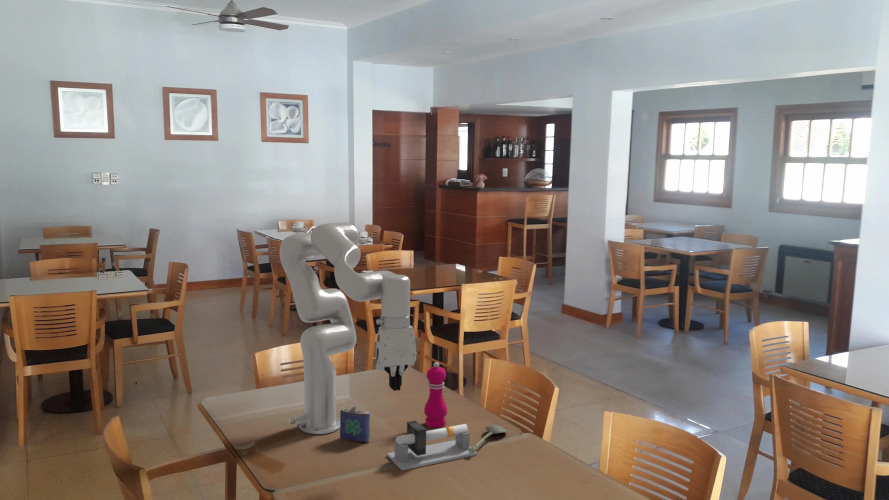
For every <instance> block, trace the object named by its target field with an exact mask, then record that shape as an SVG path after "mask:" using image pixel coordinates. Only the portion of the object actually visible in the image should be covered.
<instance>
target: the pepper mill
mask: <svg viewBox="0 0 889 500" xmlns="http://www.w3.org/2000/svg"><path fill="white" fill-rule="evenodd" d="M446 378H447V371H446V370H445V369H444V368H443V367H441V366H440V362H438V361H436V362H433V366H431V367H430V368H429V369H428V370H427V371H426V380H428V383H427V384H428V386H427V387H428V388H429V394H428V395H429V396H428V397H427V401H426V402H425V404H424V411H423V412H424V415H425V416H426V418H425V425H426V426H427V427H428V428H433V429H440V428H444V427H445V426H446V416H447V414H448V407H447V404H446V401H445V398H444V395H443V390H444V387H445V382H444V381H445V380H446Z"/></svg>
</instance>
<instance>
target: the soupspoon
mask: <svg viewBox="0 0 889 500" xmlns="http://www.w3.org/2000/svg"><path fill="white" fill-rule="evenodd" d="M484 430H486V431H487V432H488V433H487V434H485V435H484V436H483V437H481V439H480V440H479V441H478V442H477V443H476V444H473V446H471V448H469V449H468V451H469V452H470V453H474V450H475V451H476V449H477V447H478V446H479V445H480V444H481V443H483V442H484V441H485V440H486V439H487V438H488V437H490V436H492V435H494V434H500V433H501V434H503V433H507V432H508V430H507V429H506V428H505V427H503V426H500V425H497V424H490V425H487V426H485V429H484Z"/></svg>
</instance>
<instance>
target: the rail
mask: <svg viewBox="0 0 889 500" xmlns="http://www.w3.org/2000/svg"><path fill="white" fill-rule="evenodd" d="M450 437H455V439H453V440H448V441H442V442H438V443H433V444H428V445H427V444H426V454H424V455H419V456H417V455H416V454H415V453H414V452H413V451H412V450H411V449H409V448H408V444H413V443H415V435H414V434H408V435H407V434H403V435H397V436H396V437H395V440H394V451H392V452H387V454H386V455H387V457H388V458H389V459H390V460H391V462H392V463H394V464H395V466H397V467H398V469H399V470H400V471H406V470H407V471H408V470H412V469H416V468H421V467H426V466H431V465H435V464H440V463H445V462H449V461H454V460H460V459H463V458H464V457H465V458H470V457H473V456H478V451H476V449H475V450H474V453H470V452H469V451H468V449H469V448H472V446H470V432H469V428H468V424H466V423H463V424H458V425H450V426H446V427H445V426H444V427H440V428H434V429H431V430H430V429H429V430H426V442H428V441H433V440H438V439H444V438H450Z"/></svg>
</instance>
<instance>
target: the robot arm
mask: <svg viewBox="0 0 889 500" xmlns="http://www.w3.org/2000/svg"><path fill="white" fill-rule="evenodd" d="M359 233H360V232H359V231H358V229H357V227H355V226H354V225H353V224H351V223H349V222H331V223H322V224H319V225H317V226H315V228H314V229H312V231H311V232H299V233H295V234H291V235H288V236H286V237H285V238H284V239H283V240H282V241H281V244H280V245H279V259H280V264H281V266H282V268H283V271H284V272H285V275H286V276H287V279H288V282H289V283H290V288H291V292H292V297H293V299H294V304H295V307H296V311H297V314H298V316H299V317H298V318H300V320H301V321H302V322H304V323H307V324H308V323H317V322H322V321H328V320H329V321H330V323H325V324H319V325H315V326H311V327H309V328H307V329H306V330H304V331H303V332H302V333H301V336H300V347H301V348H300V349H301V354H302V358H303V359H302V360H303V380H304V381H303V382H304V383H303V384H304V387H303V389H304V393H303V394H304V398H303V399H304V411H302V412H301V414H299V416H293V417H288V424H289V425H293V424H294V425H295V426H299V429H300V431H302V432H303V433H306V434H311V435H326V434H330V433H334V432H336V431H339V430H340V418H338V417H337V370H336V367H335V364H333V362H332V360H331V359H330V356H334V355H337V354H341V353H347V352H350V351H351V350H353V349H354V348H355V346H356V343H357V333H356V327H355V325H354V324H355V323H354V320H353V317H352V312H351V309H350V306H349V302H348V299H347V297H348V298H350V299H351V300H353V301H355V302H359V303H361V302H362V303H363V302H368V301H373V300H374V301H375V300H380V299H381V300H380V301H381V305H380V306H381V307H380V308H381V309H380V310H381V315H380V318H378V319H376V325H380V326H379V327H378V331H377V337H376V343H375V361H376V364H375V369H376V370H377V371H384V372H386V373H387V374H388V387H390V389H391V390H393V391H394V392H396V391H401V386H402V385H403V383H402V378H403V375H404V374H405V373H404V372H405V371H406V370H407V369H408V368H411V367H414V365H415V363H416V361H417V346H416V345H417V344H416V339H415V337H416V336H415V331H414V326H412V325H411V280H410V278H409V276H407V275H405V274H404V275H403V274H397V273H395V272H393V271H389V270H375V271H374V270H373V271H366V272H360V273H358V272H356V271H355V270H354V268H355V267H357V265H358V263H359V262H360V260H361V254H362V253H361V249H360V247H359V246H358V245H359V243H360V234H359ZM318 260H319V261H320V260H328V261H329V263H330V264H332V265H333V267H334V270H333V271H334V272H333V274H334V275H333V276H334V279H335V283H336V284H337V286H338V288H339V289H338V288H324V289H323V288H322V287H321V285H320V281H319V278H318V275H317V273H316V272H315V270H314V269H313V268H312V267H311V266H310V265H309V264H307V263H306V262H309V261H318ZM346 296H347V297H346Z"/></svg>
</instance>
